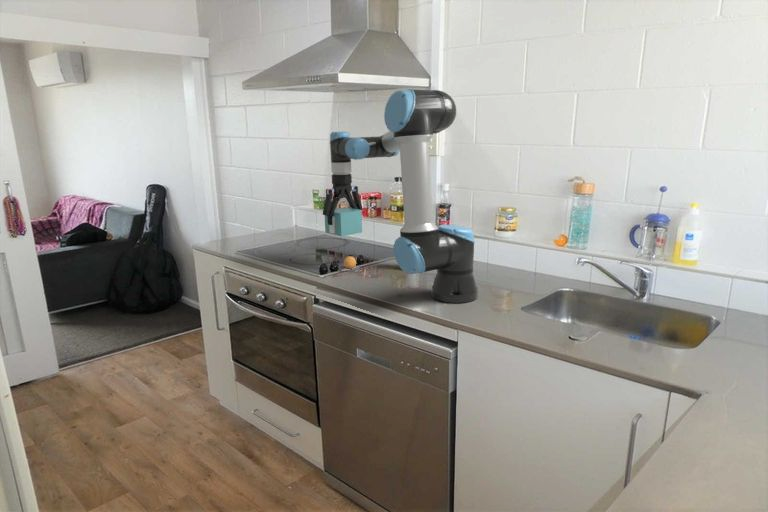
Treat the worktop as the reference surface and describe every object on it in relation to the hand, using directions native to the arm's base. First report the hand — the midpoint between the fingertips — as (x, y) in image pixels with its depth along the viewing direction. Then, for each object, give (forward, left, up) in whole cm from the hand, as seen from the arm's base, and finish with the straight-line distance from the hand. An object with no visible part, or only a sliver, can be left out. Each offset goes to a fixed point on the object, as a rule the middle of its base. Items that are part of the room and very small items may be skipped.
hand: (343, 230), depth 202 cm
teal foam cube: (0, 0, -1) cm, 1 cm away
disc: (0, 0, -15) cm, 15 cm away
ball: (-3, 0, -12) cm, 13 cm away
